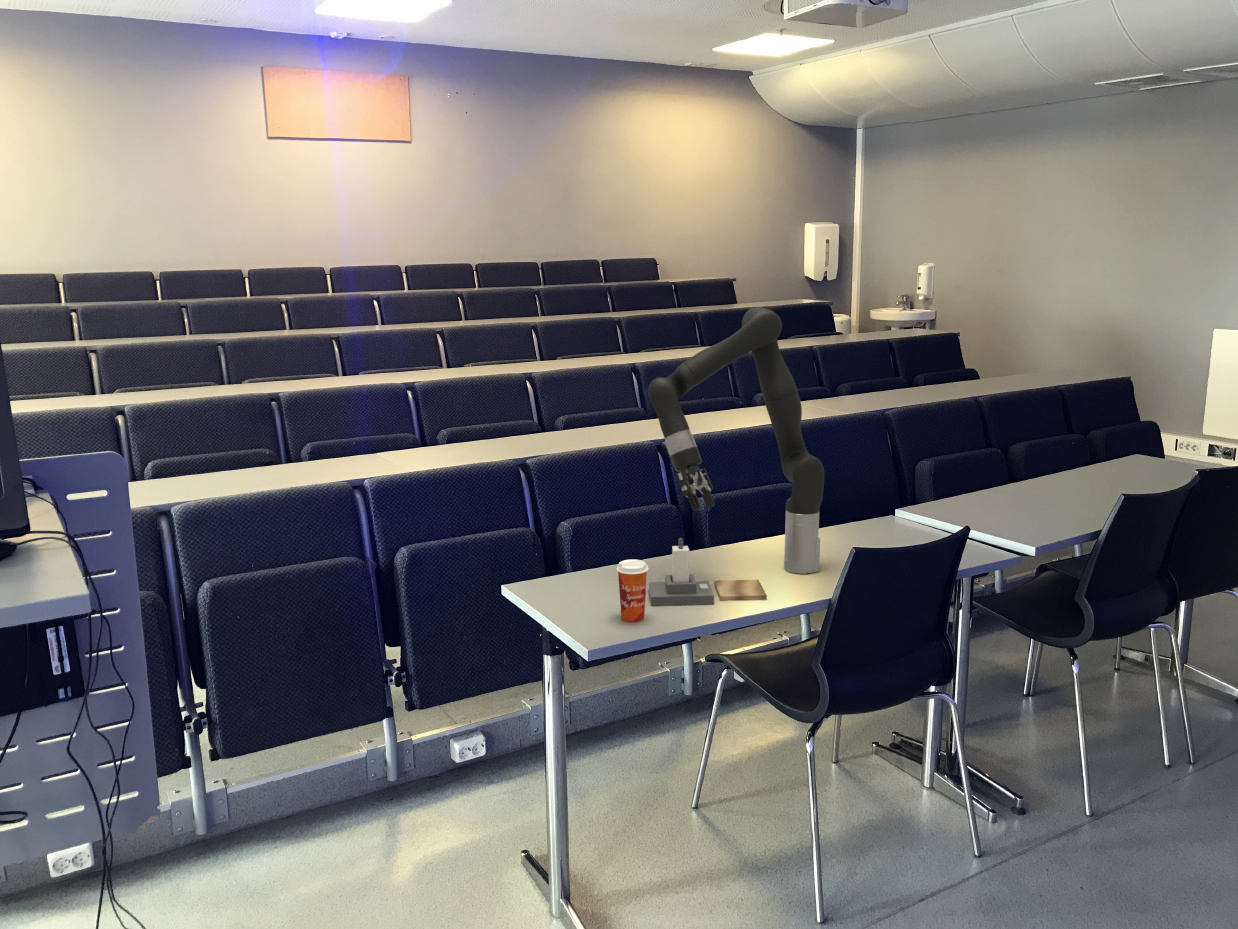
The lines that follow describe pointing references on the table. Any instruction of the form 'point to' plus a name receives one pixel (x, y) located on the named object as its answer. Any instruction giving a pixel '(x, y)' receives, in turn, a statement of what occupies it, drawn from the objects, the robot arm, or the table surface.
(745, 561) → the table surface
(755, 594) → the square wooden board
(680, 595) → the gray socket base
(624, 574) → the paper cup
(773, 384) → the robot arm
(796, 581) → the table surface
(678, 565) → the plug
